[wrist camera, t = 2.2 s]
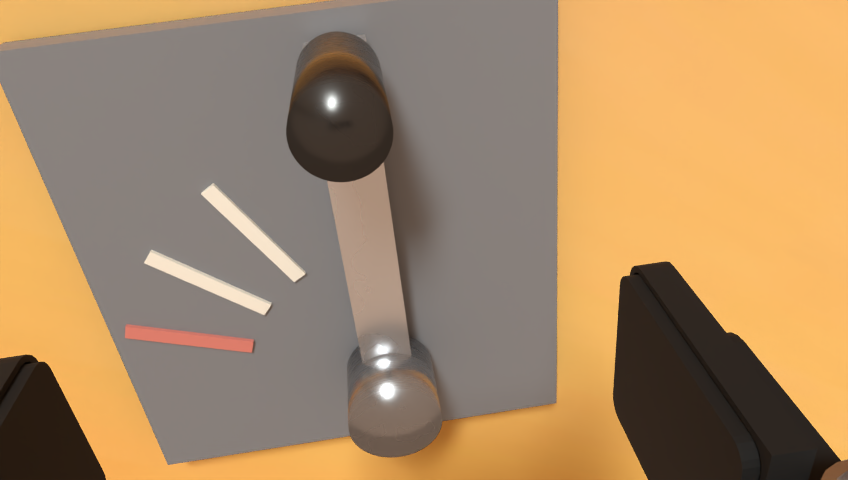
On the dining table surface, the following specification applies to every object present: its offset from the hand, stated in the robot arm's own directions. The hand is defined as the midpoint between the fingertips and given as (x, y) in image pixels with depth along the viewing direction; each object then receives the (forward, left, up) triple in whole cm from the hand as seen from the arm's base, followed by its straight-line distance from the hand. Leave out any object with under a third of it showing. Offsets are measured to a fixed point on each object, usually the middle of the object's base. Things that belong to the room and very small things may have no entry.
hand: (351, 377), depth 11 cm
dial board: (+9, -2, -20) cm, 22 cm away
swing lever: (+8, 0, -18) cm, 20 cm away
